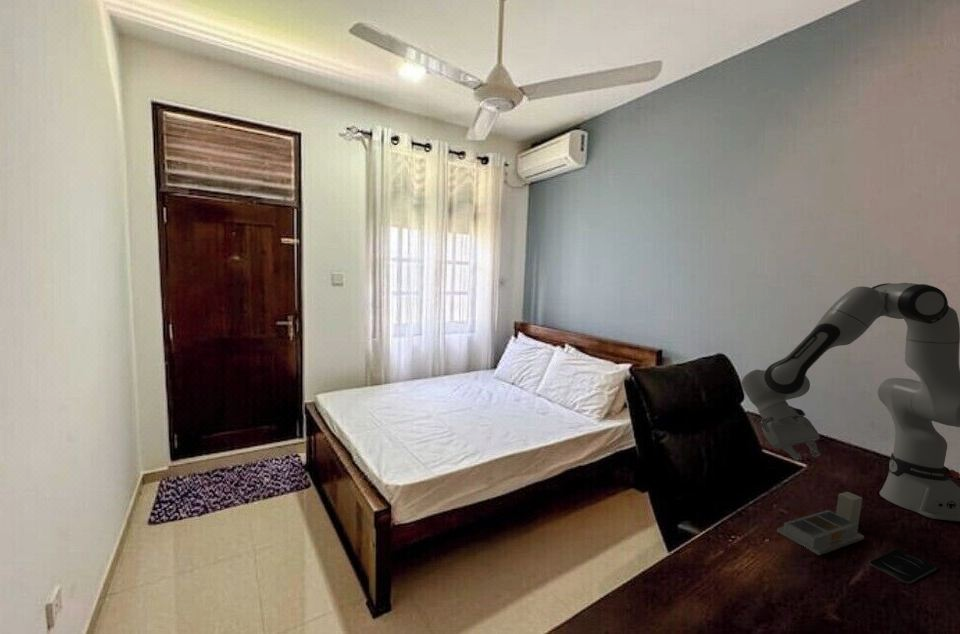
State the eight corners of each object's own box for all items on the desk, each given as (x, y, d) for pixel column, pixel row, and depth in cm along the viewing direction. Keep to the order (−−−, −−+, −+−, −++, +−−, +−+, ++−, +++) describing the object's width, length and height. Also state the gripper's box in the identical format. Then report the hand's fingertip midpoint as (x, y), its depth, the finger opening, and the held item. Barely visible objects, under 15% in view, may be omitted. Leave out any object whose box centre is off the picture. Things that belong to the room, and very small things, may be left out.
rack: (820, 518, 118) (822, 506, 118) (863, 539, 109) (865, 527, 109) (776, 531, 111) (778, 519, 110) (819, 555, 102) (821, 542, 101)
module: (843, 517, 120) (847, 491, 119) (858, 524, 117) (862, 497, 116) (834, 520, 118) (838, 493, 117) (849, 527, 115) (853, 500, 114)
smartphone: (867, 562, 100) (897, 547, 106) (866, 565, 100) (897, 550, 106) (908, 583, 93) (938, 566, 99) (908, 587, 93) (938, 570, 99)
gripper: (766, 414, 128) (796, 458, 120) (806, 409, 136) (836, 450, 128) (750, 423, 133) (778, 465, 125) (789, 418, 141) (818, 457, 133)
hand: (808, 457), depth 126 cm, fingers open, 8 cm apart
